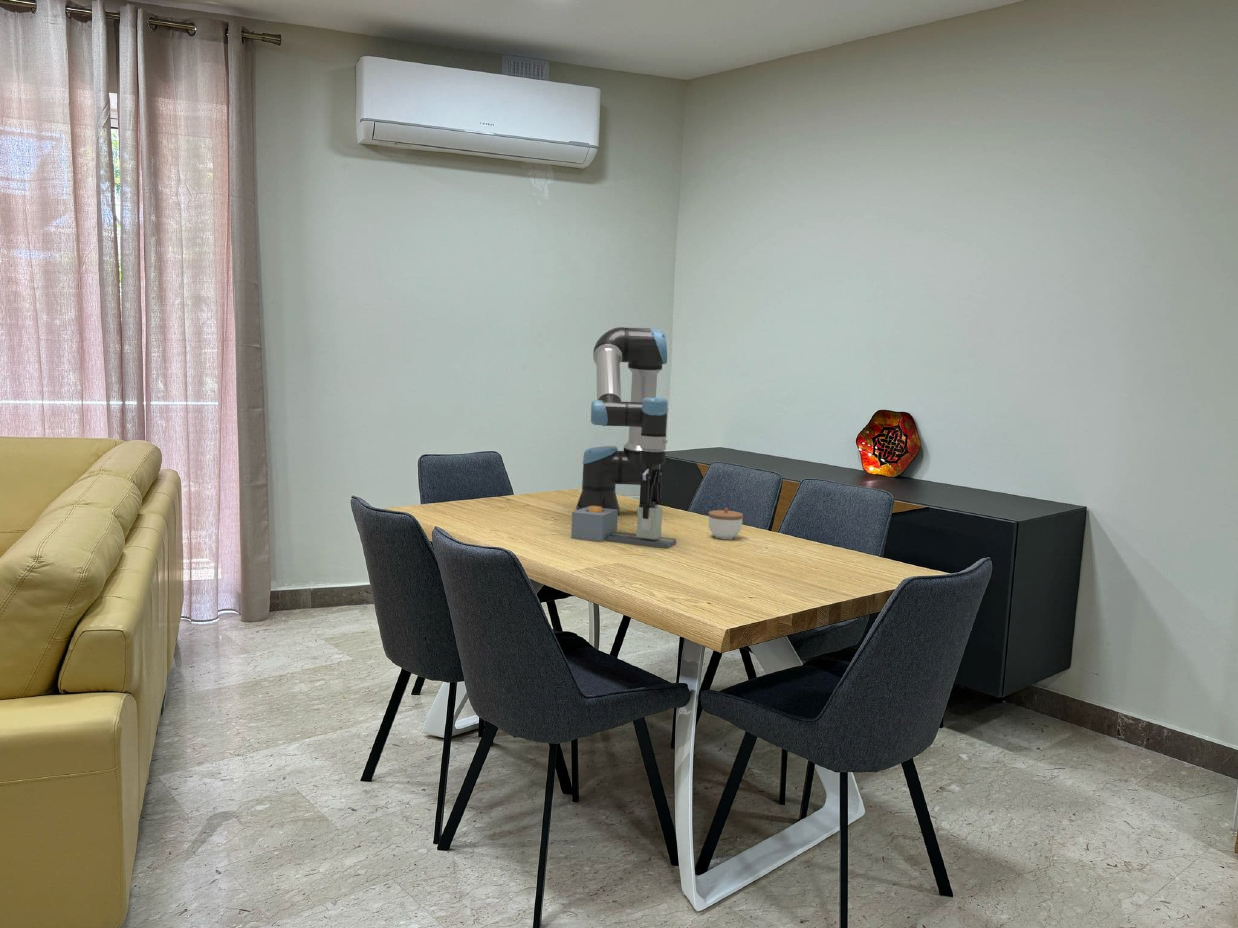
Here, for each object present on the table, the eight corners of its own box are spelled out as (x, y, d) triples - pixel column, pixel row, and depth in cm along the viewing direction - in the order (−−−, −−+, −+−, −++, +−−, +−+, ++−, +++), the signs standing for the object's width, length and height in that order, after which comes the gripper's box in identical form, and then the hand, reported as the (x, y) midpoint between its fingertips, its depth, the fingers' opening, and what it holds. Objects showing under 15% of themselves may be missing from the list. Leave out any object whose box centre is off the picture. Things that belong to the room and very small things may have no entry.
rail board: (607, 541, 281) (607, 535, 281) (617, 536, 288) (617, 531, 288) (667, 548, 274) (667, 543, 274) (676, 543, 281) (676, 538, 281)
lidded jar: (743, 541, 289) (745, 511, 288) (708, 540, 289) (710, 510, 288) (739, 535, 300) (741, 506, 298) (706, 533, 300) (707, 504, 299)
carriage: (636, 536, 279) (637, 502, 278) (642, 534, 283) (643, 499, 282) (655, 539, 277) (657, 504, 275) (660, 536, 281) (662, 501, 280)
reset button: (586, 526, 285) (586, 507, 284) (591, 524, 289) (592, 505, 288) (598, 527, 284) (598, 508, 283) (603, 525, 287) (604, 506, 287)
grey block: (571, 538, 283) (572, 511, 282) (587, 531, 294) (588, 506, 293) (601, 541, 279) (602, 515, 278) (616, 535, 290) (617, 509, 289)
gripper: (654, 453, 267) (650, 534, 270) (674, 448, 284) (670, 524, 287) (630, 451, 270) (626, 531, 273) (651, 446, 287) (647, 521, 289)
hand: (649, 527), depth 280 cm, fingers closed on carriage, 5 cm apart
